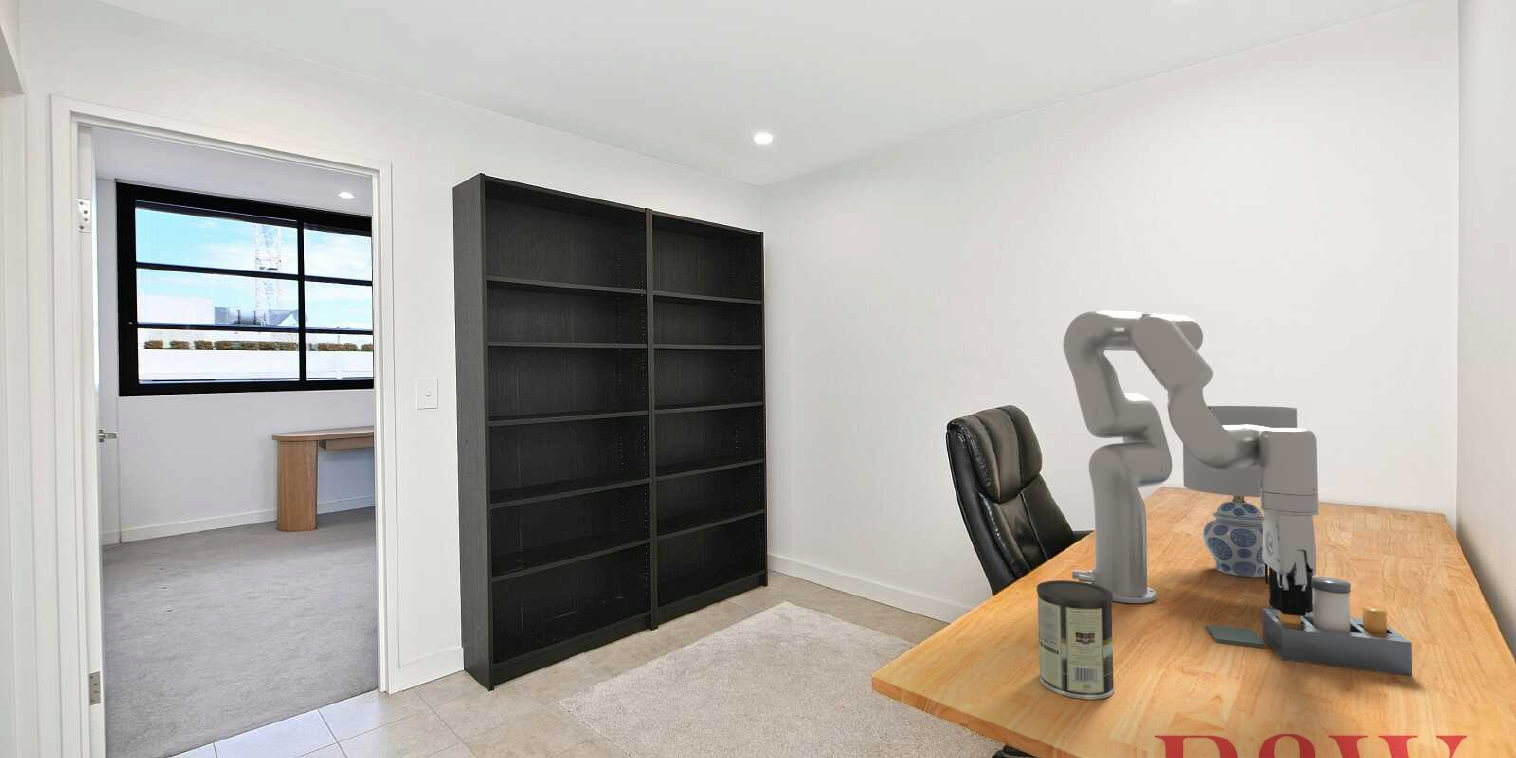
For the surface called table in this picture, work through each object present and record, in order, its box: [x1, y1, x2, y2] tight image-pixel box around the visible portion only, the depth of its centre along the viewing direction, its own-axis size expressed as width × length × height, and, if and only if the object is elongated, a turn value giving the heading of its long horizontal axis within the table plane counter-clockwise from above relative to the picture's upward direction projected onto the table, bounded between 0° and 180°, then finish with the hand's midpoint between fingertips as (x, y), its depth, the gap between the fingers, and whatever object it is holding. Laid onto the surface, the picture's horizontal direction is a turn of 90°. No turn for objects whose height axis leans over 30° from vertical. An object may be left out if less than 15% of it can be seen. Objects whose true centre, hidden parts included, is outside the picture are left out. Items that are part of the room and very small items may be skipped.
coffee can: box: [1036, 579, 1115, 701], centre depth 99 cm, size 10×10×14 cm
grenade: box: [1264, 563, 1314, 613], centre depth 126 cm, size 7×7×15 cm
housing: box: [1261, 607, 1413, 677], centre depth 108 cm, size 16×10×5 cm, turn 67°
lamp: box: [1182, 405, 1298, 578], centre depth 153 cm, size 22×22×38 cm
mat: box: [1205, 624, 1266, 649], centre depth 115 cm, size 7×7×1 cm
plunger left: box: [1279, 611, 1301, 624], centre depth 110 cm, size 3×3×5 cm
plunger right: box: [1362, 606, 1388, 633], centre depth 105 cm, size 3×3×5 cm
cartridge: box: [1312, 576, 1352, 632], centre depth 108 cm, size 5×5×12 cm
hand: (1291, 613), depth 109 cm, fingers closed
